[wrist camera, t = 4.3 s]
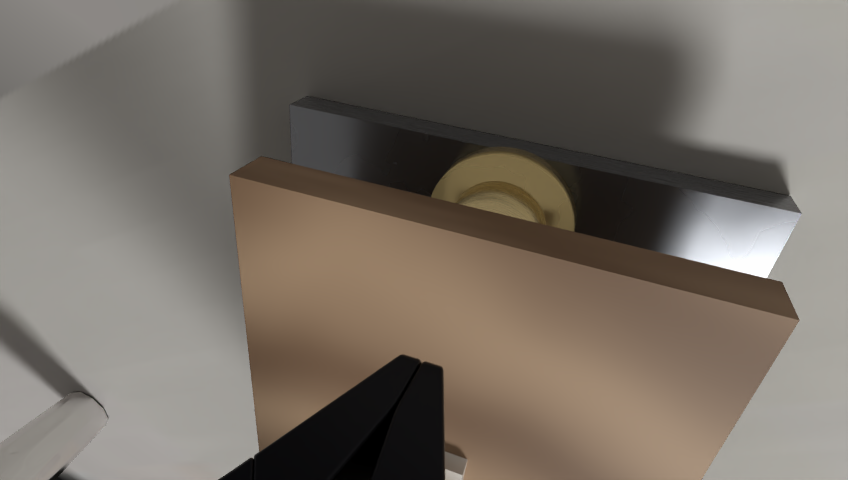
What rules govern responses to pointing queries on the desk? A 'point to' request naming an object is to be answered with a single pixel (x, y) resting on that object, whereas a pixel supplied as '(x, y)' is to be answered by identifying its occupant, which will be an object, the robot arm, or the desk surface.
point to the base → (548, 185)
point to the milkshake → (52, 439)
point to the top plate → (497, 328)
